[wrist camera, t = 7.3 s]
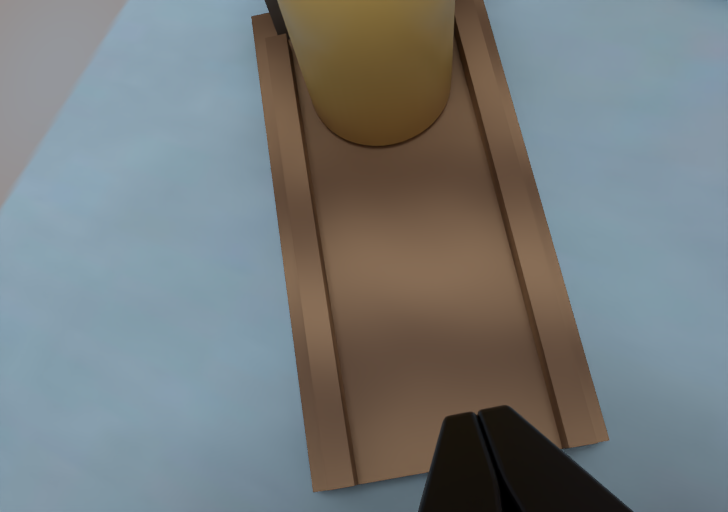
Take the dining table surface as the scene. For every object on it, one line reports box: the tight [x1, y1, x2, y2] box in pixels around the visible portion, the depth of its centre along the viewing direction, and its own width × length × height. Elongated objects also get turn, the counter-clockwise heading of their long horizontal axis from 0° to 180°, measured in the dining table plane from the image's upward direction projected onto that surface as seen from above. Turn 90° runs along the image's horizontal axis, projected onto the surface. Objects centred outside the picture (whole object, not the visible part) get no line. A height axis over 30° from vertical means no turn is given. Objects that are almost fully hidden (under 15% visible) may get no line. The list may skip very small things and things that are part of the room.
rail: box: [251, 0, 609, 492], centre depth 17 cm, size 19×9×11 cm, turn 10°
